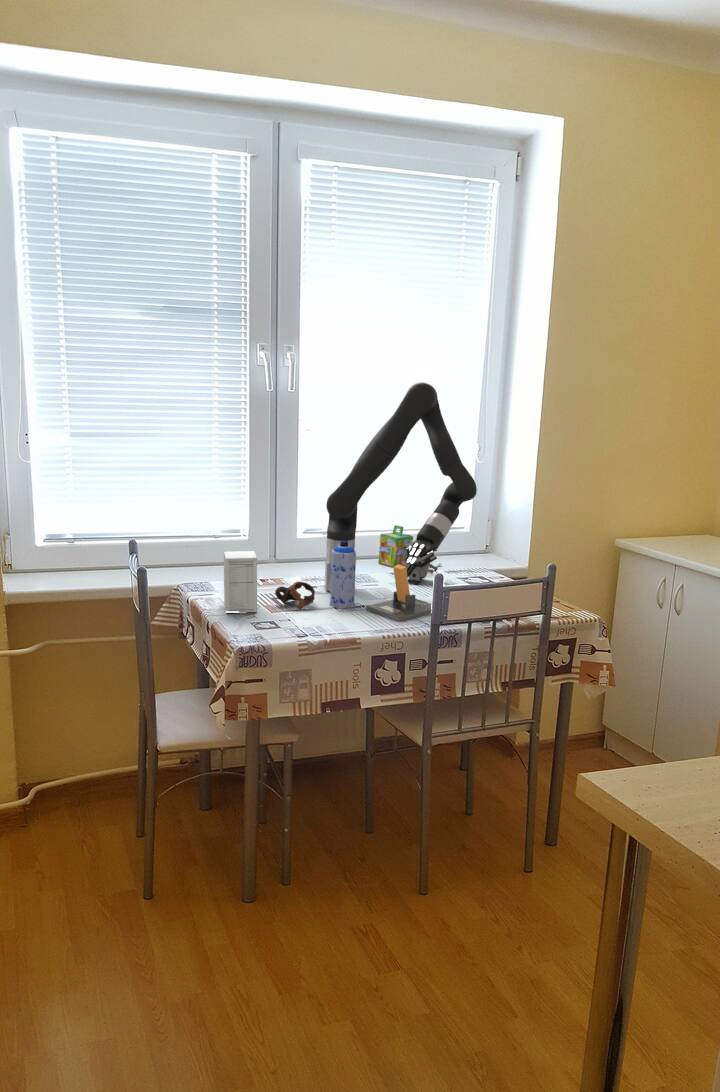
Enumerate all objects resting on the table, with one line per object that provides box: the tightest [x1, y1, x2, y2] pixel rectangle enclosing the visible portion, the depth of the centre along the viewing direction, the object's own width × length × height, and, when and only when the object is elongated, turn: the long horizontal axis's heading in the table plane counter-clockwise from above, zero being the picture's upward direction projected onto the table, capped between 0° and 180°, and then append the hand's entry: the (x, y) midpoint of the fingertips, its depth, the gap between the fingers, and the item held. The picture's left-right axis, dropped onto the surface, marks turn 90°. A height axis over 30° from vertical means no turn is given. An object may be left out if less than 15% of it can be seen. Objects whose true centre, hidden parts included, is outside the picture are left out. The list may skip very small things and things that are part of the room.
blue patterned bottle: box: [329, 541, 357, 609], centre depth 246 cm, size 8×8×20 cm
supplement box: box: [223, 550, 258, 613], centre depth 237 cm, size 10×9×17 cm
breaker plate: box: [365, 591, 432, 622], centre depth 243 cm, size 18×14×6 cm
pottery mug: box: [274, 581, 316, 610], centre depth 245 cm, size 12×10×8 cm
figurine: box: [408, 539, 443, 585], centre depth 278 cm, size 9×12×15 cm
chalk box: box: [378, 524, 414, 568], centre depth 303 cm, size 9×9×15 cm
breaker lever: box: [392, 565, 411, 605], centre depth 241 cm, size 2×4×12 cm, turn 41°
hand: (404, 575), depth 241 cm, fingers closed
